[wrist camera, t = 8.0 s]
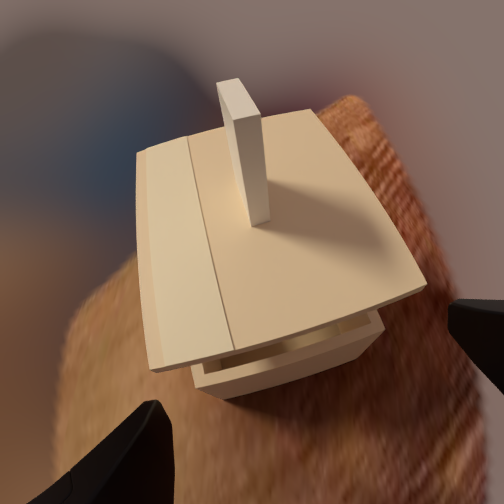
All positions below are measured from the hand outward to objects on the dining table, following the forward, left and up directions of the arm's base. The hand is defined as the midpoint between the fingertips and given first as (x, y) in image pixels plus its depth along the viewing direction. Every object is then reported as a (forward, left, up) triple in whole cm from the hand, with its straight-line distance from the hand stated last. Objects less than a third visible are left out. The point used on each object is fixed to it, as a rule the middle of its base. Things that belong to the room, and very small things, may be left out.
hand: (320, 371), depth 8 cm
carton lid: (+5, -5, -2) cm, 8 cm away
